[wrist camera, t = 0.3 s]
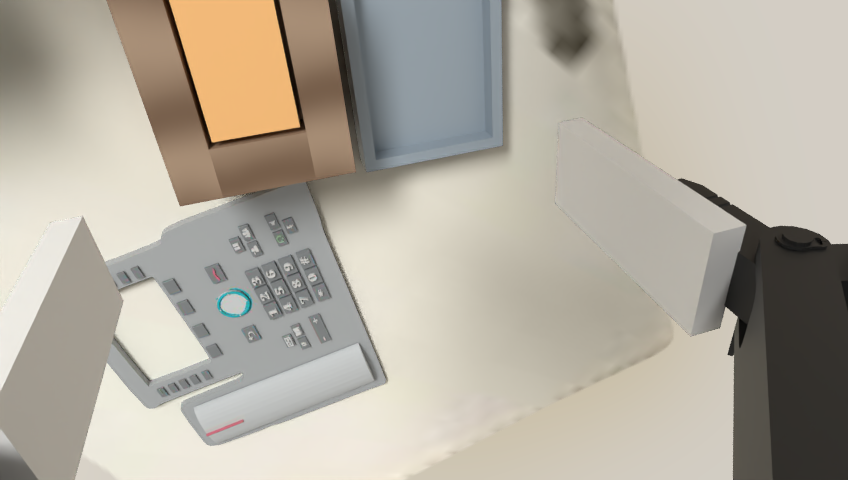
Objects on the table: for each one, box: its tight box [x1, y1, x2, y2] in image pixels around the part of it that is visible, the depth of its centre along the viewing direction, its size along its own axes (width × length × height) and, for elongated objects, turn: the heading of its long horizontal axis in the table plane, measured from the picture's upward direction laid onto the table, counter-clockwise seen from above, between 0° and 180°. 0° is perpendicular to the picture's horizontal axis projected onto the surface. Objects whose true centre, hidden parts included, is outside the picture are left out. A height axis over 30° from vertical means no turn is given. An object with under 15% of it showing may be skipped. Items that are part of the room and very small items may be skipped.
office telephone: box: [105, 182, 386, 446], centre depth 48 cm, size 23×3×20 cm
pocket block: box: [107, 0, 356, 206], centre depth 35 cm, size 12×11×8 cm
